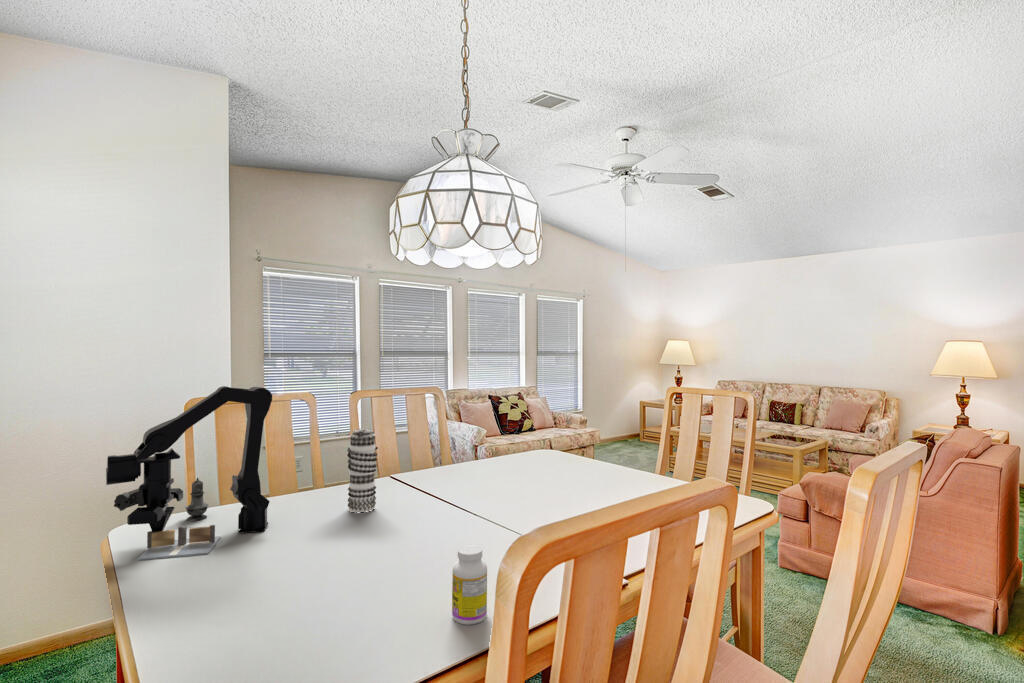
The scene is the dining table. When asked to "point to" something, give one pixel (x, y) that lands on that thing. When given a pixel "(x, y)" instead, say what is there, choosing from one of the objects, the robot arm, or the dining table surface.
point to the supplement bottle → (469, 586)
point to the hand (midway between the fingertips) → (157, 538)
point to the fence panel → (160, 538)
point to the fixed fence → (196, 534)
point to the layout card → (179, 550)
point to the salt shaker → (197, 502)
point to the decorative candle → (362, 471)
